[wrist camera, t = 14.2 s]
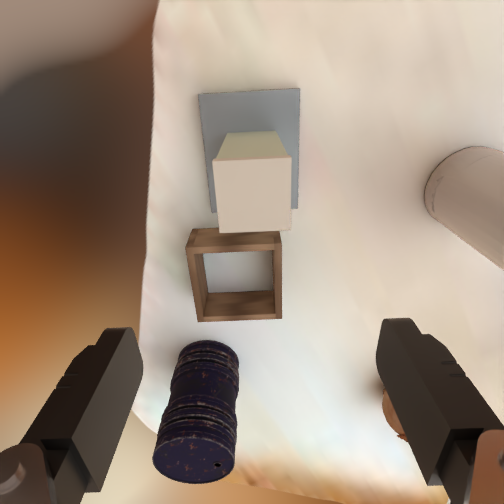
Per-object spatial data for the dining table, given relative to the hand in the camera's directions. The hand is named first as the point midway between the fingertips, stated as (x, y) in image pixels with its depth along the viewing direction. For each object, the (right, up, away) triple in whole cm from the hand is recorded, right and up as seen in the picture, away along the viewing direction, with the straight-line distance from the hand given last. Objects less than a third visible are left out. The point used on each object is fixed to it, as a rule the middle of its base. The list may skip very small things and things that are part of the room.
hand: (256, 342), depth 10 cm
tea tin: (0, +13, +24) cm, 27 cm away
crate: (-2, +1, +31) cm, 31 cm away
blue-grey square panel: (0, +14, +25) cm, 28 cm away
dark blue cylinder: (-7, -15, +40) cm, 43 cm away
